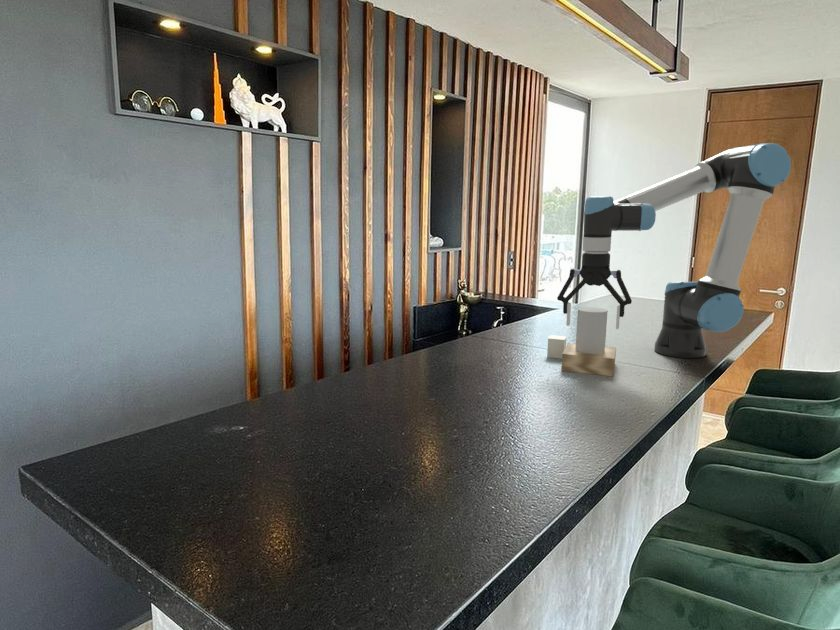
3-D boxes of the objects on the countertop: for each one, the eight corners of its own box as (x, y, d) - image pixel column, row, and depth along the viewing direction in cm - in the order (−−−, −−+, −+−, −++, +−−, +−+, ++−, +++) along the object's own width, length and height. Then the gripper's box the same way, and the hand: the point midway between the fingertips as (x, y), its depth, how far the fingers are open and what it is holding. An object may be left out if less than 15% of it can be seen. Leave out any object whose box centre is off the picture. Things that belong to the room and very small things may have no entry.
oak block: (614, 363, 173) (616, 347, 172) (613, 376, 160) (614, 358, 159) (566, 358, 178) (567, 343, 177) (561, 370, 165) (562, 353, 164)
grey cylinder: (601, 347, 172) (604, 307, 170) (607, 354, 164) (610, 312, 162) (573, 346, 173) (575, 306, 170) (578, 353, 165) (580, 311, 162)
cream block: (565, 355, 183) (566, 336, 182) (563, 358, 178) (564, 339, 177) (549, 353, 185) (550, 335, 184) (547, 357, 180) (548, 338, 179)
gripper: (643, 252, 162) (638, 326, 166) (553, 250, 171) (550, 321, 175) (644, 254, 155) (638, 332, 159) (549, 252, 164) (546, 326, 168)
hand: (592, 326), depth 167 cm, fingers open, 13 cm apart
